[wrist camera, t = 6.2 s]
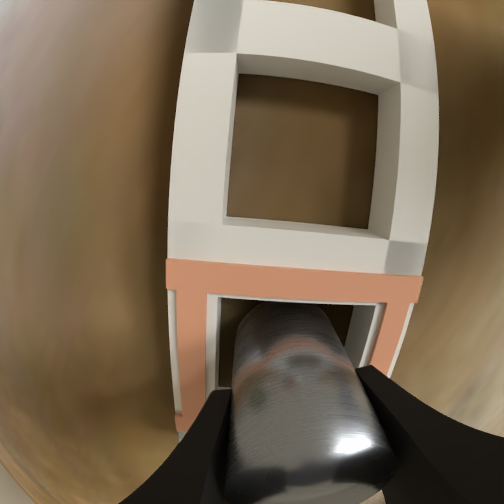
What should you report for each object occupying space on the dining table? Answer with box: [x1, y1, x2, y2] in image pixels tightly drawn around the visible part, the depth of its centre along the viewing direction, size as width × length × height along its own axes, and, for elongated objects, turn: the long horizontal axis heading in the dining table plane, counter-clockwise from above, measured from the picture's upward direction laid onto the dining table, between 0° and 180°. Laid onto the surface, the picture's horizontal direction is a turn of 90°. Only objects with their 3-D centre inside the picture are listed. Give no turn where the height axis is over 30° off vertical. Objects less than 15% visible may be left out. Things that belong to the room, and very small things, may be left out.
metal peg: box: [224, 301, 398, 504], centre depth 8 cm, size 4×4×7 cm
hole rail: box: [166, 0, 439, 442], centre depth 9 cm, size 9×28×2 cm, turn 175°
